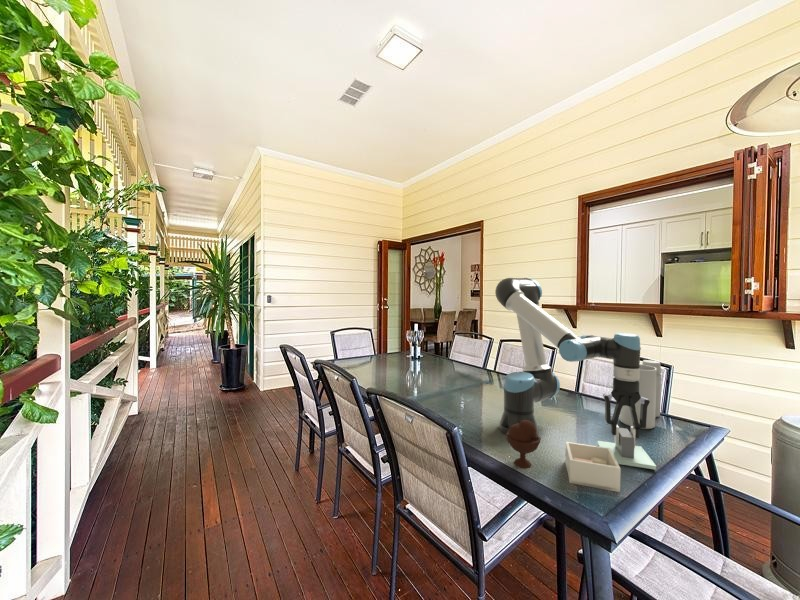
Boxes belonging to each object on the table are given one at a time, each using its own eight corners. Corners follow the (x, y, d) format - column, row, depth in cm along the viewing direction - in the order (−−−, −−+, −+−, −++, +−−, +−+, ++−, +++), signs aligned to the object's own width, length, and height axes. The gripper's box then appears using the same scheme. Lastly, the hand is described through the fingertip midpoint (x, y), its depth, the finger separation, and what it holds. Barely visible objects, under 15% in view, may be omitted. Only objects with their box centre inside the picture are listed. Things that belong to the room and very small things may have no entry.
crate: (569, 482, 100) (570, 460, 100) (565, 461, 113) (565, 441, 112) (620, 492, 96) (620, 468, 96) (609, 469, 108) (610, 448, 108)
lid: (605, 464, 111) (606, 437, 111) (597, 445, 124) (597, 422, 124) (656, 472, 106) (656, 444, 106) (641, 452, 119) (641, 427, 119)
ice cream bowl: (531, 455, 117) (531, 413, 117) (546, 472, 106) (546, 426, 105) (501, 455, 117) (501, 413, 116) (513, 473, 106) (513, 427, 105)
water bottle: (655, 412, 157) (656, 360, 156) (663, 418, 149) (665, 363, 149) (633, 410, 159) (634, 359, 159) (640, 416, 152) (641, 362, 151)
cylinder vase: (640, 431, 136) (641, 371, 136) (612, 419, 148) (614, 364, 148) (662, 427, 140) (663, 369, 139) (634, 416, 152) (635, 362, 151)
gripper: (599, 379, 114) (598, 445, 115) (660, 384, 108) (658, 454, 109) (595, 373, 121) (594, 436, 122) (652, 378, 115) (650, 444, 116)
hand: (624, 445), depth 115 cm, fingers open, 4 cm apart
